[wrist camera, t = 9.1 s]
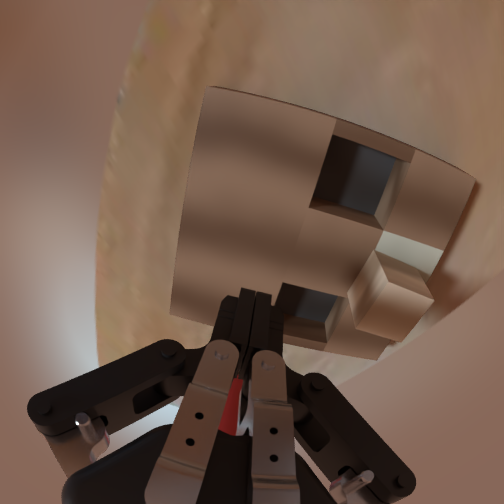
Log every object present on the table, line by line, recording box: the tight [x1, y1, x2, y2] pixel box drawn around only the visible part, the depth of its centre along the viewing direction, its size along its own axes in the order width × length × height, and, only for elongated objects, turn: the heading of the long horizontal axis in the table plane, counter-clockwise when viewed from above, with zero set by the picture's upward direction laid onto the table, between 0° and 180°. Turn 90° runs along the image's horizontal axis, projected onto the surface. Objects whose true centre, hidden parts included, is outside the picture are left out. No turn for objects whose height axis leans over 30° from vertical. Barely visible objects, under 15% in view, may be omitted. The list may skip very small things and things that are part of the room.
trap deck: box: [170, 86, 476, 360], centre depth 23 cm, size 18×19×3 cm
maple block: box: [347, 250, 434, 342], centre depth 20 cm, size 4×4×4 cm
